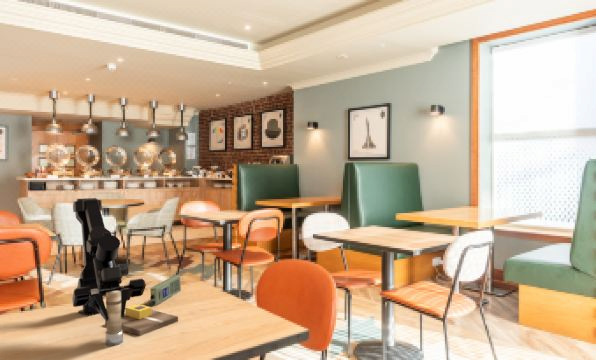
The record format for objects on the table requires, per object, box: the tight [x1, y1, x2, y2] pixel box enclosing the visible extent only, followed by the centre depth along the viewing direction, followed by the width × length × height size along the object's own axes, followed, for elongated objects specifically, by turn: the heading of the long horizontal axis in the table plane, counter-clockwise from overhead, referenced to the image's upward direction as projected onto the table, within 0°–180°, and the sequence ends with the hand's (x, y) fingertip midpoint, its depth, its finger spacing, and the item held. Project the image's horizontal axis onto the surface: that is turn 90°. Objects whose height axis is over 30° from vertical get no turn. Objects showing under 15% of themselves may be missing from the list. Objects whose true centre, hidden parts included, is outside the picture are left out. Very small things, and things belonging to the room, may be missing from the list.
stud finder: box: [124, 303, 152, 319], centre depth 137 cm, size 7×4×3 cm, turn 57°
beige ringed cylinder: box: [105, 291, 124, 347], centre depth 119 cm, size 4×4×14 cm
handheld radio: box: [144, 274, 182, 308], centre depth 159 cm, size 7×3×25 cm
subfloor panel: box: [104, 309, 179, 336], centre depth 134 cm, size 17×14×2 cm
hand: (115, 318), depth 118 cm, fingers closed on beige ringed cylinder, 4 cm apart
